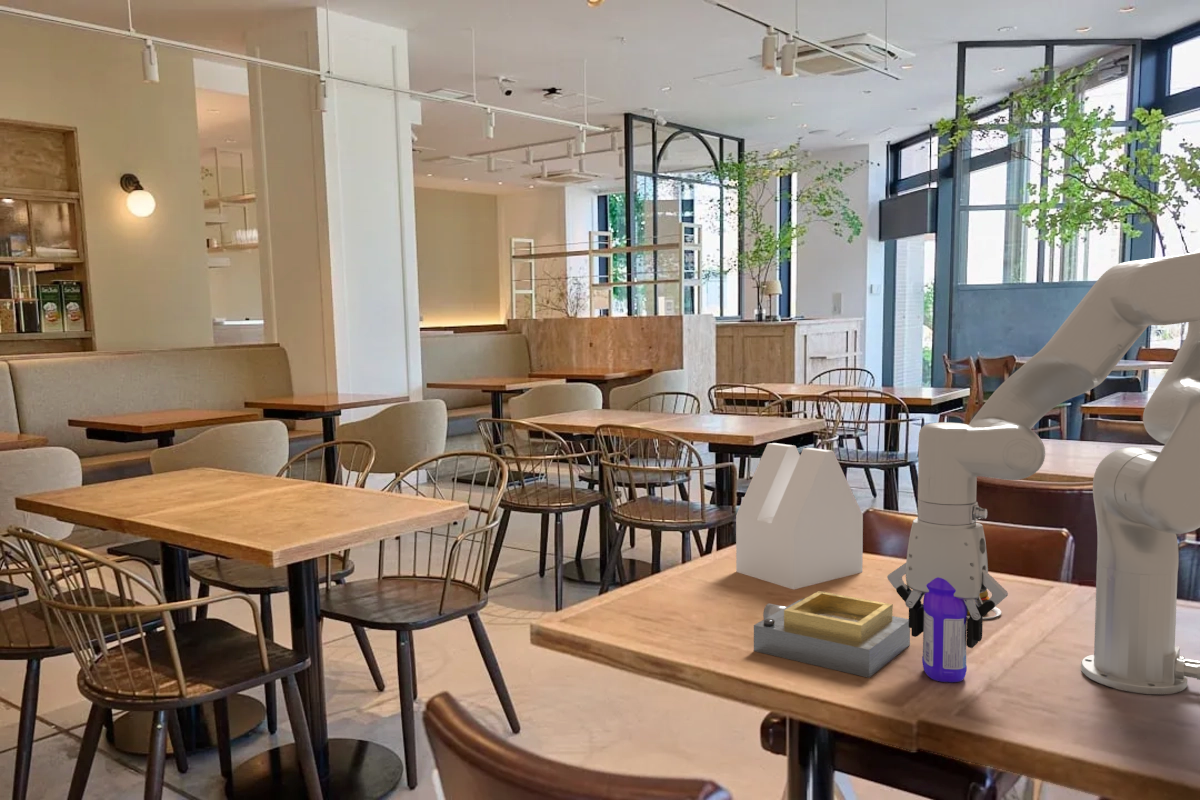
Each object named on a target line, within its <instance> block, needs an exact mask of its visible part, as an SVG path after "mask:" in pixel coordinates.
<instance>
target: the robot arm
mask: <svg viewBox="0 0 1200 800" xmlns="http://www.w3.org/2000/svg"><path fill="white" fill-rule="evenodd" d="M1185 323H1186V324H1187V323H1188V326H1187V332H1186V336H1185V339H1184V341H1183V344H1182V346H1181V347H1180V349H1179V351H1178V353H1177V354H1176V356H1175V358H1174V359H1173V361H1172V363H1171V364H1170V366H1169V368H1168V369H1167V371H1166V373H1165V374H1164V376H1163V377H1162V379H1161V381H1160V382H1159V384H1158V385H1157V387H1156V388H1155V390H1154V391H1153V393H1152V394H1151V396H1150V398H1149V399H1148V401H1147V403H1146V405H1145V408H1144V410H1143V414H1142V423H1143V426H1144V428H1145V431H1146V432H1147V433H1148V435H1149V436H1150V437H1151V438H1152V439H1153V440H1155V441H1157V442H1159V443H1160V444H1163V445H1164V446H1163V447H1162V449H1161V451H1156V450H1154V449H1153V450H1152V449H1150V448H1144V447H1138V446H1137V447H1132V446H1131V447H1124V448H1120V449H1117V450H1115V451H1112V452H1110V453H1108V454H1107V455H1106V456H1104V458H1103V459H1101V461H1100V462H1099V464H1098V465H1097V467H1096V468H1095V472H1094V475H1093V480H1092V496H1093V497H1092V498H1093V504H1094V505H1093V506H1094V511H1095V512H1094V513H1095V520H1096V533H1097V534H1096V535H1097V541H1096V542H1097V544H1096V545H1097V547H1096V548H1097V549H1096V550H1097V551H1096V573H1095V575H1096V581H1095V584H1096V585H1095V609H1094V610H1095V611H1094V616H1095V617H1094V647H1093V648H1094V650H1093V653H1094V654H1090V655H1087V656H1085V657H1084V658H1082V660H1081V664H1080V665H1081V666H1080V669H1081V672H1082V673H1083V674H1084V675H1085V676H1086V677H1087V678H1089V679H1090V680H1092V681H1094V682H1096V683H1098V684H1100V685H1104V686H1106V687H1110V688H1111V689H1112V688H1113V689H1116V690H1121V691H1125V692H1130V693H1134V694H1135V693H1136V694H1145V695H1170V694H1176V693H1180V692H1181V691H1184V690H1185V689H1186V688H1188V678H1192V679H1196V680H1198V681H1200V660H1196V659H1189V658H1185V656H1183V655H1180V649H1181V647H1180V646H1179V645H1178V646H1177V645H1176V629H1177V628H1176V627H1177V626H1176V623H1177V594H1178V571H1179V544H1178V538H1177V537H1178V535H1181V534H1187V533H1190V532H1193V531H1196V530H1198V529H1200V248H1198V249H1196V250H1194V251H1192V252H1188V253H1185V254H1184V253H1183V254H1182V253H1181V254H1178V255H1176V254H1175V255H1171V256H1162V257H1153V258H1146V259H1138V260H1130V261H1124V262H1121V263H1118V264H1115V265H1113V266H1112V267H1110V268H1109V269H1107V270H1106V271H1105V272H1104V273H1102V274H1101V276H1100V277H1099V278H1098V279H1097V280H1096V282H1095V283H1093V285H1092V286H1091V288H1090V289H1089V290H1088V292H1087V293H1086V294H1085V295H1084V296H1083V297H1082V299H1081V301H1080V302H1079V303H1078V304H1077V305H1076V306H1075V308H1074V309H1073V310H1072V311H1071V313H1070V314H1069V315H1068V317H1067V318H1066V319H1065V320H1064V322H1063V323H1062V324H1061V326H1059V328H1058V329H1057V330H1056V331H1055V333H1054V334H1053V335H1052V337H1051V338H1050V339H1049V340H1048V342H1046V343H1045V345H1044V346H1043V347H1042V348H1041V349H1040V350H1039V351H1038V352H1037V353H1035V354H1034V355H1033V356H1031V357H1030V358H1029V359H1028V360H1027V361H1026V362H1024V364H1023V365H1021V366H1020V367H1019V368H1018V369H1017V370H1016V371H1014V372H1013V373H1012V374H1011V375H1009V376H1008V378H1006V380H1005V381H1003V382H1002V383H1001V384H1000V385H999V386H998V387H997V388H996V390H994V391H993V393H992V394H991V396H989V397H988V399H987V400H986V401H985V403H984V404H983V405H982V406H981V407H980V408H979V410H978V411H977V412H976V414H975V415H974V416H973V418H972V420H970V422H969V424H966V423H961V422H930V423H927V424H923V426H922V427H921V428H920V430H919V432H918V464H917V465H918V466H917V467H918V469H917V470H918V471H917V517H916V518H915V519H913V520H912V525H911V528H910V533H909V538H908V543H907V544H908V546H907V551H906V562H905V563H903V564H902V565H900V566H899V567H897V568H896V569H895V570H893V571H892V572H891V573H889V574H888V575H887V580H888V581H889V582H890V584H891V586H892V587H893V588H894V589H895V590H896V593H897V594H898V596H899V597H900V598H901V599H902V600H903V601H904V605H905V607H906V608H908V619H909V628H910V629H911V632H910V636H911V637H914V638H917V637H918V636H920V635H921V634H922V633H923V626H924V607H923V603H922V600H923V599H924V594H925V593H928V592H929V590H928V588H927V586H926V585H927V584H928V583H929V582H931V581H932V580H934V579H935V578H937V577H939V578H942V579H944V580H946V581H947V582H949V583H950V584H951V585H952V586H953V587H954V589H955V590H956V592H955V593H954V597H956V598H959V599H963V600H964V602H965V604H966V606H967V608H968V610H969V612H970V615H969V616H968V617H969V618H967V631H966V647H967V648H969V649H974V647H976V645H978V643H979V642H981V641H982V639H983V625H984V624H983V623H984V622H983V620H984V619H983V617H984V616H985V615H987V614H988V613H990V611H992V609H993V608H994V607H997V606H998V605H999V604H1000V603H1001V602H1002V601H1003V600H1004V599H1006V598H1007V596H1008V595H1009V593H1008V591H1007V590H1006V589H1005V588H1004V587H1003V586H1002V585H1001V584H1000V583H999V582H998V581H997V580H996V579H995V578H994V577H993V576H992V575H991V574H990V573H989V568H988V567H989V566H988V565H989V564H988V553H987V544H986V536H985V531H984V526H983V524H981V523H980V522H979V523H978V522H977V521H978V520H980V519H982V520H983V519H985V520H986V519H987V517H988V509H987V508H982V507H981V506H979V503H978V501H977V487H978V485H977V481H978V480H977V479H978V477H982V478H983V477H984V478H991V479H999V480H1005V481H1017V480H1018V481H1019V480H1023V479H1027V478H1029V477H1031V476H1033V475H1034V474H1036V473H1037V472H1038V471H1039V470H1040V469H1041V468H1042V467H1043V464H1044V462H1045V459H1046V448H1045V443H1043V440H1042V438H1040V436H1039V435H1038V434H1037V433H1036V432H1035V431H1033V430H1032V429H1033V427H1034V426H1035V425H1036V424H1037V423H1038V422H1039V421H1040V420H1041V419H1042V418H1043V417H1044V416H1045V415H1047V414H1048V413H1049V412H1050V411H1051V410H1053V409H1054V408H1056V407H1057V406H1059V405H1060V404H1062V403H1064V402H1066V401H1068V400H1070V399H1071V400H1072V398H1075V397H1079V396H1080V395H1083V394H1085V393H1087V392H1089V391H1091V390H1092V389H1094V388H1096V387H1098V386H1099V385H1101V384H1102V383H1103V382H1104V381H1105V380H1106V379H1107V378H1108V377H1109V375H1110V374H1111V372H1112V371H1113V369H1114V368H1115V367H1116V366H1117V365H1118V364H1119V363H1120V361H1121V360H1122V359H1123V357H1124V356H1125V355H1126V354H1127V352H1128V351H1129V350H1130V349H1131V347H1132V346H1133V345H1134V343H1135V342H1136V341H1137V340H1138V339H1139V338H1140V337H1141V335H1142V334H1143V333H1144V331H1146V330H1147V328H1148V327H1149V326H1169V325H1170V326H1171V325H1177V324H1185ZM903 576H905V582H906V583H905V582H904V580H903ZM986 590H987V591H988V592H990V593H991V596H990V597H989V599H988V600H987V601H986V602H985V603H983V602H982V600H981V598H980V596H979V594H980V593H983V592H985V591H986Z"/></svg>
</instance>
